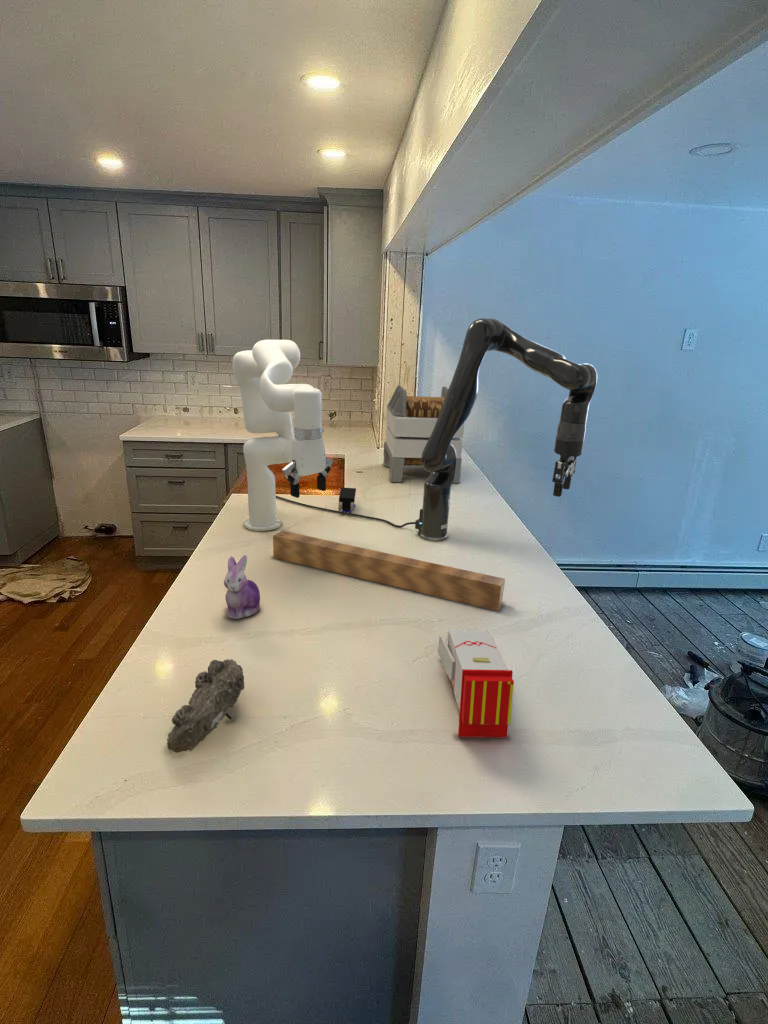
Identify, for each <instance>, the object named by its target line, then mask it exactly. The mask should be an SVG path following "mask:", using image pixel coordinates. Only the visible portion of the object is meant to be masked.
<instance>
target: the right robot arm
mask: <svg viewBox="0 0 768 1024" xmlns="http://www.w3.org/2000/svg"><path fill="white" fill-rule="evenodd" d="M465 333H466V334H465V338H464V340H463V344H462V348H461V352H460V355H459V359H458V362H457V365H456V368H455V371H454V373H453V376H452V379H451V382H450V384H449V387H448V388H447V389H448V391H447V394H446V397H445V400H444V403H443V406H442V409H441V411H440V414H439V416H438V419H437V422H436V424H435V427H434V429H433V432H432V434H431V436H430V438H429V440H428V442H427V444H426V446H425V448H424V450H423V452H422V457H421V461H422V465H423V466H422V467H423V469H424V470H425V471H426V472H428V473H430V474H429V475H428V476H427V478H426V479H425V480H424V482H423V493H422V496H423V497H422V506H421V508H420V509H419V516H418V519H416V520H415V521H409V522H405V523H403V524H401V525H397V524H394V523H393V522H391V521H389V520H387V519H383V518H380V517H379V518H378V517H373V516H368V515H364V514H357V513H352V512H351V513H349V512H343V513H344V515H349V514H350V515H349V516H354V517H359V518H365V519H369V520H375V521H379V522H384V523H387V524H389V525H390V526H392V527H395V528H400V529H401V528H404V527H405V526H406V527H407V526H408V525H409V526H410V525H414V529H415V530H417V535H418V536H420V538H421V539H424V540H426V541H432V542H440V541H444V540H446V539H447V538H448V525H449V517H450V516H449V514H450V504H451V494H452V493H451V491H452V486H453V484H454V483H453V481H454V477H455V469H456V461H457V456H456V451H455V448H454V447H453V446H452V445H451V444H450V442H451V440H452V438H453V436H454V435H455V433H456V432H457V431H458V430H459V428H460V427H461V426H462V425H463V423H464V424H465V423H466V421H467V420H468V418H469V416H470V414H471V413H472V411H473V408H474V406H475V403H476V400H477V399H478V398H477V397H478V394H479V372H480V367H481V366H482V362H483V360H484V358H485V355H486V354H487V352H492V351H495V352H499V353H503V354H506V355H509V356H512V357H513V358H515V359H517V360H518V362H520V363H521V364H522V365H524V366H525V367H526V368H527V369H530V370H532V371H533V372H535V373H537V374H540V375H542V376H544V377H547V378H549V379H551V380H552V381H553V382H555V384H557V385H559V386H560V387H562V388H563V389H566V390H569V392H568V395H567V397H566V399H565V400H564V401H563V402H562V405H561V409H560V416H559V421H558V424H557V429H556V436H555V442H554V449H553V452H554V453H555V454H556V455H559V456H560V457H559V459H558V460H556V461H555V463H554V469H553V475H552V479H551V481H552V483H554V486H553V493H552V495H553V496H554V497H559V498H561V496H562V494H563V490H566V491H567V490H568V491H569V490H570V488H571V483H572V478H573V476H574V474H575V473H576V468H577V467H576V465H577V461H578V457H580V456H582V454H583V450H584V449H583V448H584V443H585V436H586V430H587V420H588V414H589V407H590V403H591V402H592V400H593V396H594V393H595V391H596V388H597V383H598V372H597V370H596V368H595V366H594V365H592V364H590V363H575V362H573V361H570V360H568V359H566V356H565V355H563V354H562V353H560V352H558V351H556V350H553V349H551V348H548V347H547V346H544V345H542V344H540V343H537V342H535V341H533V340H530V339H528V338H526V337H524V336H522V335H521V334H520V333H517V332H516V331H514V330H513V329H511V328H510V327H509V326H507V325H506V324H504V323H503V322H502V321H500V320H498V319H495V318H484V317H483V318H476V319H474V320H473V321H472V322H471V323H470V324H469V325H468V328H467V331H466V332H465ZM276 499H280V500H283V501H286V502H289V503H293V504H295V505H300V506H303V507H307V508H312V509H316V510H321V511H326V512H331V513H337V514H342V511H339V510H336V509H329V508H324V507H321V506H320V507H319V506H314V505H311V504H306V503H301V502H298V501H295V500H292V499H288V498H285V497H282V496H278V495H276Z"/></svg>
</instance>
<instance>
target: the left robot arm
mask: <svg viewBox="0 0 768 1024" xmlns="http://www.w3.org/2000/svg"><path fill="white" fill-rule="evenodd" d="M300 362H301V351H300V348H299V346H298V344H297V343H296V342H294V341H293V340H290V339H263V340H262V339H261V340H258V341H257V342H256V343H255V344H254V345H253V347H252V349H251V350H249V349H248V350H241V351H238V352H237V353H235V354H234V355H233V358H232V372H233V376H234V379H235V381H236V384H237V386H238V389H239V391H240V396H241V397H240V398H241V405H242V414H243V421H244V426H245V429H246V431H247V432H248V433H251V434H268V433H269V434H270V433H276V434H277V436H276V435H274V436H260V437H253V438H250V439H247V440H246V441H245V442H244V444H243V446H242V447H243V448H242V451H243V457H244V462H245V468H246V469H245V470H246V479H247V480H246V481H247V505H248V506H247V507H248V519H246V520H245V521H244V527H245V528H246V529H247V530H249V531H254V532H255V531H256V532H269V531H273V530H276V529H278V528H279V527H280V526H281V525H282V521H281V520H280V518H278V517H277V498H276V496H277V492H276V488H277V487H276V476H275V474H274V472H273V471H272V470H271V469H270V468H269V466H273V465H281V464H287V465H285V467H283V468H282V469H281V472H282V474H283V477H284V478H285V480H287V482H288V483H289V491H290V493H289V494H290V496H291V497H293V498H296V499H299V498H300V496H301V495H300V494H301V493H300V492H301V491H300V483H299V481H300V479H301V478H302V477H308V476H310V475H315V474H317V476H316V489H317V490H319V491H322V492H326V491H327V478H328V476H329V473H330V471H331V468H332V465H333V462H334V461H333V460H332V459H330V458H329V457H326V447H325V441H324V438H323V433H324V432H325V429H324V428H323V422H322V421H323V416H322V415H323V412H322V411H323V409H322V408H323V403H322V402H323V398H322V397H323V395H322V391H321V390H320V389H319V388H317V387H315V388H314V386H312V385H311V384H308V383H288V382H290V380H291V379H292V377H293V374H294V370H295V369H296V368H297V367H298V366H299V364H300ZM258 378H260V379H258ZM291 412H293V419H292V413H291Z"/></svg>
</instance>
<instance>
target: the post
mask: <svg viewBox="0 0 768 1024" xmlns="http://www.w3.org/2000/svg"><path fill="white" fill-rule="evenodd" d="M272 550H273V551H272V553H273V555H272V556H273V559H277V560H281V561H286V562H289V563H294V564H299V565H302V566H307V567H310V568H315V569H319V570H323V571H328V572H331V573H336V574H340V575H344V576H348V577H353V578H357V579H361V580H365V581H369V582H374V583H378V584H382V585H387V586H390V587H395V588H400V589H403V590H407V591H412V592H416V593H420V594H425V595H429V596H433V597H438V598H441V599H446V600H449V601H454V602H458V603H463V604H467V605H471V606H474V607H479V608H483V609H487V610H490V611H491V610H492V611H496V612H499V610H500V608H501V606H502V604H503V597H504V591H505V583H506V578H504V577H499V576H496V575H495V576H494V575H489V574H486V573H482V572H481V573H480V572H477V571H472V570H466V569H462V568H457V567H453V566H448V565H443V564H439V563H434V562H431V561H430V562H429V561H425V560H420V559H415V558H411V557H406V556H401V555H397V554H393V553H387V552H383V551H379V550H374V549H370V548H364V547H360V546H355V545H350V544H346V543H342V542H337V541H333V540H327V539H323V538H319V537H313V536H309V535H305V534H300V533H294V532H290V531H286V530H280V531H278V532H277V533H275V534H273V535H272Z"/></svg>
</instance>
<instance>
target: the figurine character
mask: <svg viewBox="0 0 768 1024" xmlns="http://www.w3.org/2000/svg"><path fill="white" fill-rule="evenodd" d="M356 492H357V488H355V487H344V486H341V487H340V491H339V496H338V507H337V508H338V509H337V510H338V511H341V512H342V513H341V515H342V516H343V515H345V514H344V513H343V512H347V513H352V512H354V511H355V508H356V507H357V505H356V503H355V499H356ZM349 516H351V515H350V514H349Z"/></svg>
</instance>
